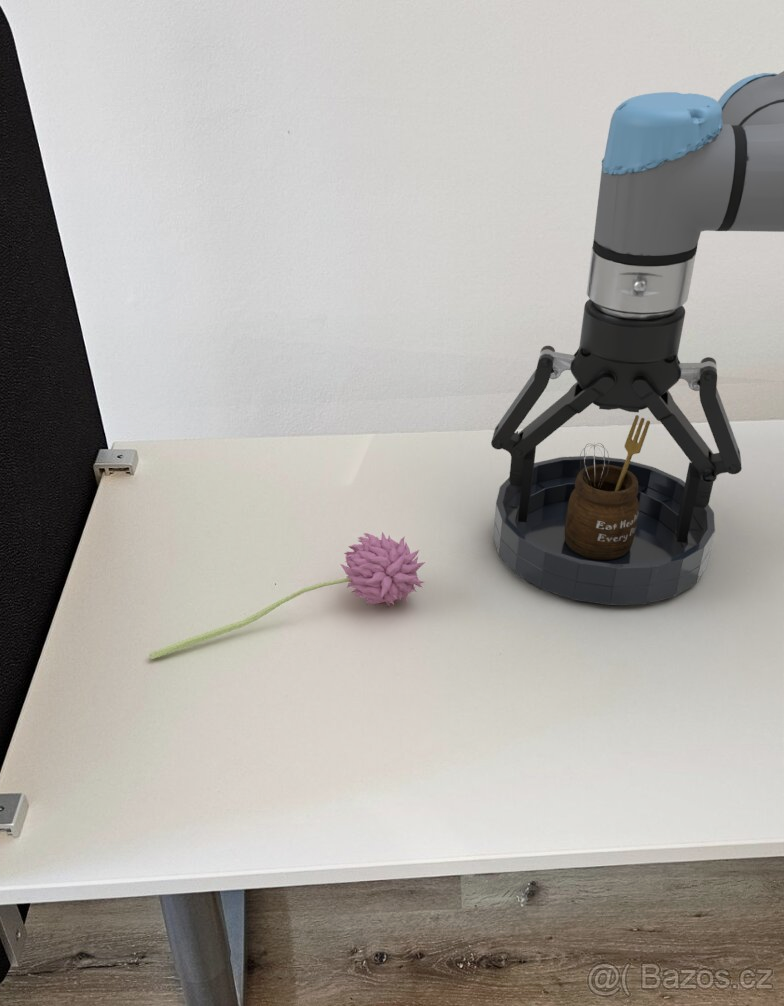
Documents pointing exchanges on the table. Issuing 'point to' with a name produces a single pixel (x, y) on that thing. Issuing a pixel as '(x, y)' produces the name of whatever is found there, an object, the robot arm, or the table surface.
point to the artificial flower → (372, 571)
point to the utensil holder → (605, 505)
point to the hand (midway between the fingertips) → (600, 524)
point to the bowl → (623, 581)
